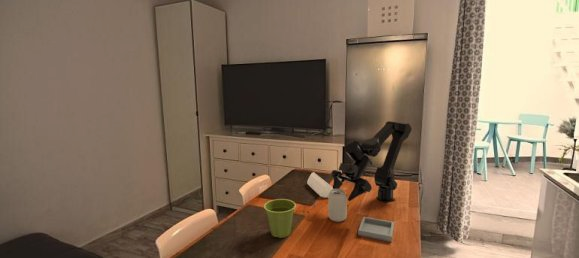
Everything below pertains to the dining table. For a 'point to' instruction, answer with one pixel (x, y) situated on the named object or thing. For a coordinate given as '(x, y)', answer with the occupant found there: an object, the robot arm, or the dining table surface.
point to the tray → (376, 229)
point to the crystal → (319, 185)
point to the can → (337, 205)
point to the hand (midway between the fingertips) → (340, 197)
